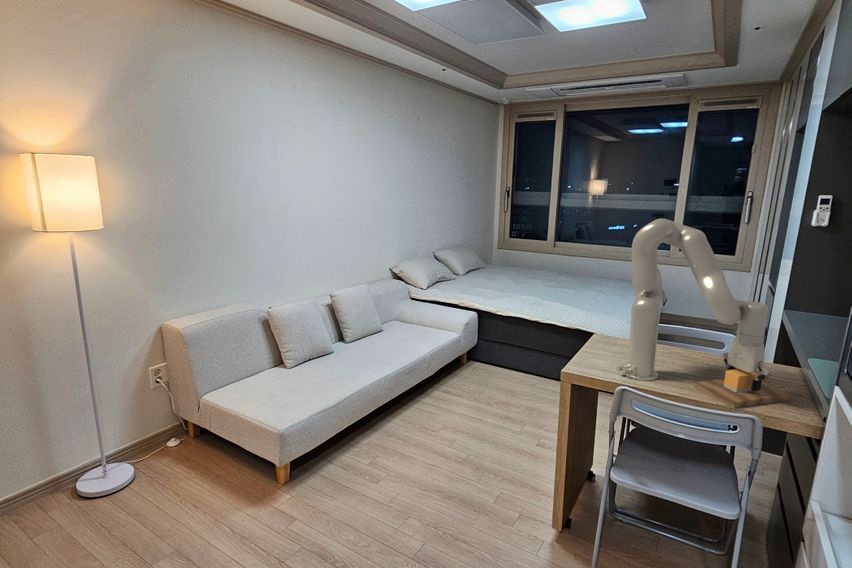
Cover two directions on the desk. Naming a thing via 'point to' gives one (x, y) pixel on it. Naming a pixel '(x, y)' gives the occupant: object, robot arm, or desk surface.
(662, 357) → the desk surface
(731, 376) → the block
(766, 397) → the walnut board
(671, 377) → the desk surface
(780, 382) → the desk surface
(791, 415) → the desk surface
